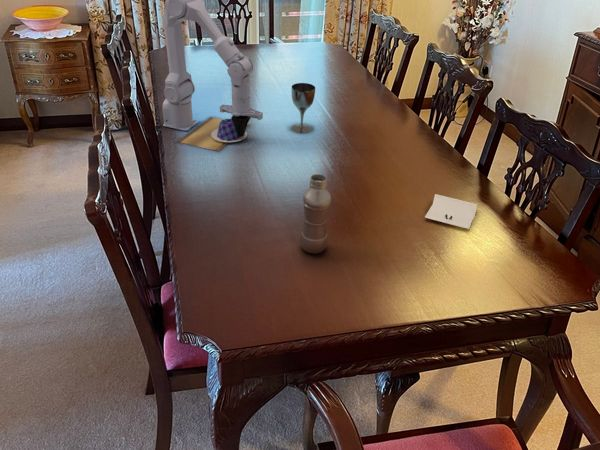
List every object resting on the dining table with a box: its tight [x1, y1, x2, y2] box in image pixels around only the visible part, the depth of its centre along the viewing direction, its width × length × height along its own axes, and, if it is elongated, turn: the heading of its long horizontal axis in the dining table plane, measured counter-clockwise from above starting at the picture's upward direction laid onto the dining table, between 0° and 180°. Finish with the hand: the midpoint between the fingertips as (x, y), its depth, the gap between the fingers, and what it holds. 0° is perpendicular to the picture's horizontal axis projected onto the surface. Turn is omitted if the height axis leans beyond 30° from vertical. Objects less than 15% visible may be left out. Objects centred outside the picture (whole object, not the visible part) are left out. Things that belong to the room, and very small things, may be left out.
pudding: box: [211, 118, 248, 143], centre depth 184 cm, size 12×12×5 cm
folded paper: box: [424, 193, 478, 230], centre depth 150 cm, size 12×12×2 cm
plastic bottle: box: [299, 173, 332, 255], centre depth 130 cm, size 6×7×20 cm
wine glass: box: [290, 82, 316, 134], centre depth 189 cm, size 8×8×15 cm
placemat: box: [177, 117, 249, 152], centre depth 187 cm, size 15×22×1 cm
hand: (241, 135), depth 183 cm, fingers closed
